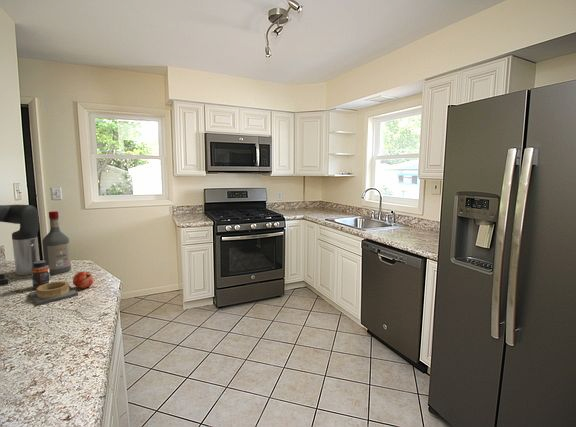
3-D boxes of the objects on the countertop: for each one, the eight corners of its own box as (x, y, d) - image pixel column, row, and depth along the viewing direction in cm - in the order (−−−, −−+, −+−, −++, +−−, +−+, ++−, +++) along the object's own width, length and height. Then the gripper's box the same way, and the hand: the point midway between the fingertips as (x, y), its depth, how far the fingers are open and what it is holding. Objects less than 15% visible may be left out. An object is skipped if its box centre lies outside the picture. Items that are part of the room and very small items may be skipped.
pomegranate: (70, 295, 129) (81, 284, 125) (65, 279, 131) (76, 268, 127) (89, 291, 135) (99, 281, 131) (84, 276, 137) (94, 266, 133)
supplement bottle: (54, 284, 134) (52, 260, 132) (42, 290, 128) (39, 264, 126) (42, 283, 134) (39, 259, 133) (29, 289, 128) (26, 263, 127)
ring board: (29, 295, 122) (28, 285, 122) (67, 286, 132) (67, 277, 132) (37, 305, 114) (36, 295, 113) (78, 295, 123) (77, 286, 123)
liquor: (73, 271, 152) (68, 211, 147) (51, 276, 144) (46, 213, 140) (64, 267, 156) (60, 210, 152) (43, 272, 149) (37, 211, 144)
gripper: (-55, 285, 104) (8, 274, 117) (-57, 275, 113) (2, 266, 126) (-53, 306, 105) (10, 292, 118) (-54, 294, 114) (4, 283, 127)
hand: (6, 278), depth 122 cm, fingers open, 8 cm apart
